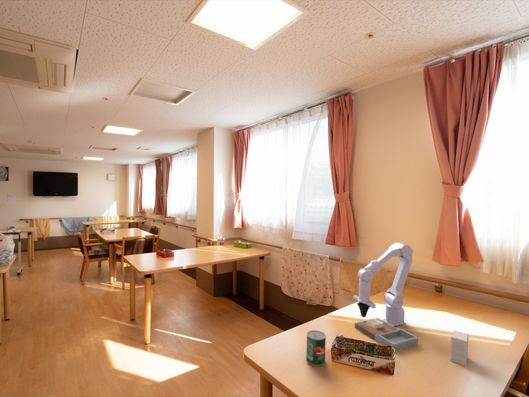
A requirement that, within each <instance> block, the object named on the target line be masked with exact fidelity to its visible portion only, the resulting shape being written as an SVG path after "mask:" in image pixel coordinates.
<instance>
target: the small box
mask: <svg viewBox="0 0 529 397" xmlns="http://www.w3.org/2000/svg"><path fill="white" fill-rule="evenodd" d="M450 342H451V343H450V344H451V345H450V362H453V363H456V364H459V365H462V366H465V367H466V366H467V363H468V357H469V356H468V355H469V333H464V332H461V331H457V330H453V332H452V334H451V341H450Z"/></svg>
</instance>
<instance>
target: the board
mask: <svg viewBox="0 0 529 397" xmlns="http://www.w3.org/2000/svg"><path fill="white" fill-rule="evenodd" d="M375 319H377V320H379V321H381V322H383V323H384V327H381V328H377V329H374V328H372V327H371V326H369V325H367V324H366V320H362V321H358V322H354V329H356V330H358V331H359V332H361V333H362V334H364V335H365V336H367V338H371V340H373V341H375V335H377V334H383V333H387V332H391V331H395V330H399V329H400V328H399V329H398V328H397V327H396V326H391V325H389V324H388V323H386V322H384V321H382V319H380V318H375Z"/></svg>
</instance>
